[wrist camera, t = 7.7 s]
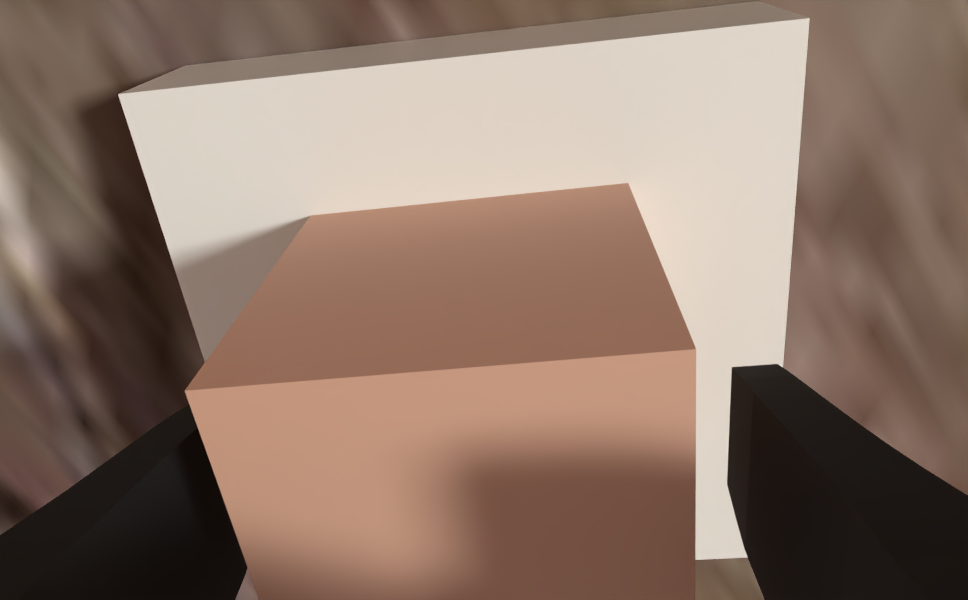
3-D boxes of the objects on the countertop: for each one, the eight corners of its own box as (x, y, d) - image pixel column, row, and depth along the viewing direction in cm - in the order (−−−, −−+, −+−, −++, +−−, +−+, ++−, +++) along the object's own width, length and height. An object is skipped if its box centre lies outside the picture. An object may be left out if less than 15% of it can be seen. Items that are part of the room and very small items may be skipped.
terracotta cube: (638, 446, 14) (694, 700, 9) (369, 465, 14) (300, 714, 10) (627, 183, 11) (696, 349, 7) (310, 215, 12) (184, 390, 7)
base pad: (735, 473, 17) (768, 556, 15) (305, 497, 18) (275, 579, 16) (758, 1, 13) (809, 17, 10) (185, 65, 13) (118, 93, 11)
